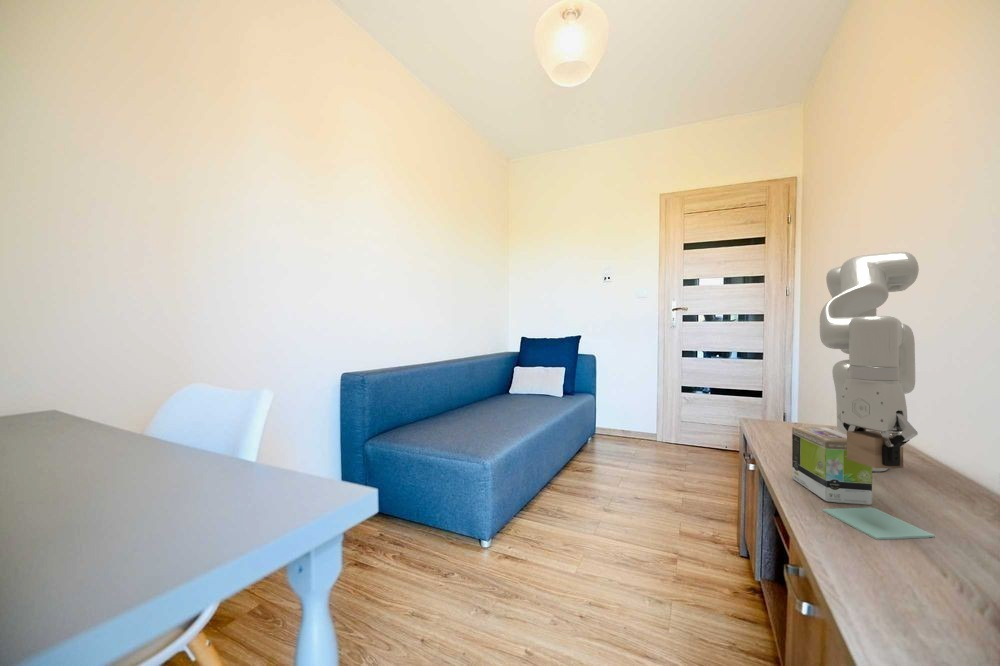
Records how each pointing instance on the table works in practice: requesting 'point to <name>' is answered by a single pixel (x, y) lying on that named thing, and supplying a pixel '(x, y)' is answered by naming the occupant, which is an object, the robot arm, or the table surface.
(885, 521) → the teal pad
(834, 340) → the robot arm
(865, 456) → the walnut cube
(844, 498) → the tea box
